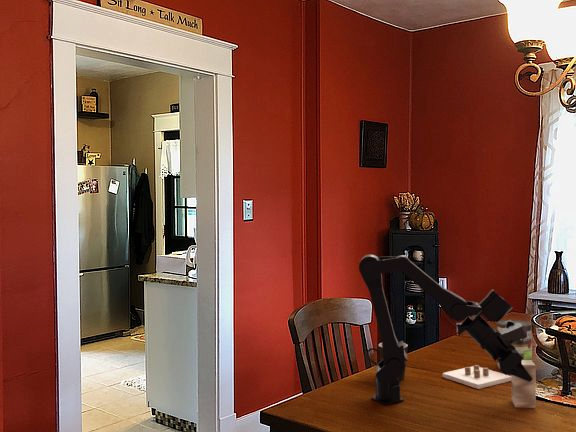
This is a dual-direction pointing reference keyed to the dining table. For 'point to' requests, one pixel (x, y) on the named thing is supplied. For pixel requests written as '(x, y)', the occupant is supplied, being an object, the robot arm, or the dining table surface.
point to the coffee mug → (380, 352)
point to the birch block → (525, 387)
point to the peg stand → (477, 376)
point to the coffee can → (523, 344)
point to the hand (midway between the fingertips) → (528, 377)
